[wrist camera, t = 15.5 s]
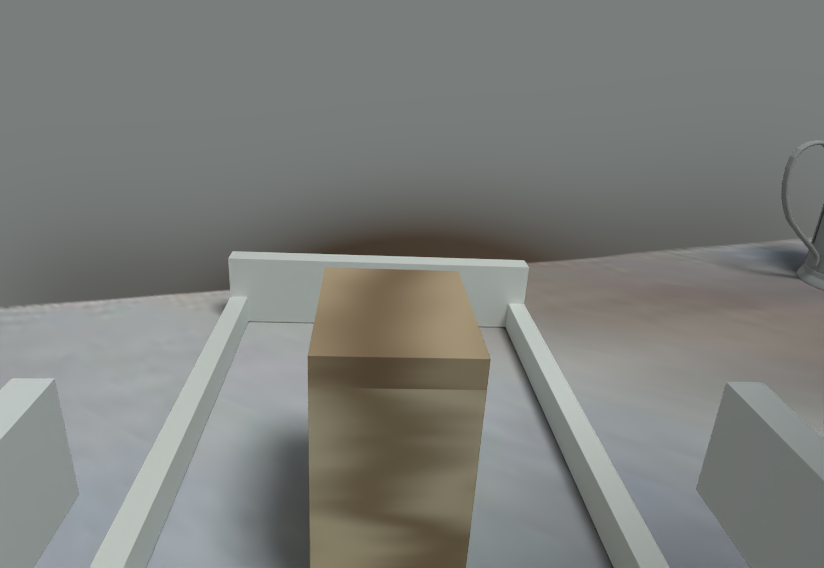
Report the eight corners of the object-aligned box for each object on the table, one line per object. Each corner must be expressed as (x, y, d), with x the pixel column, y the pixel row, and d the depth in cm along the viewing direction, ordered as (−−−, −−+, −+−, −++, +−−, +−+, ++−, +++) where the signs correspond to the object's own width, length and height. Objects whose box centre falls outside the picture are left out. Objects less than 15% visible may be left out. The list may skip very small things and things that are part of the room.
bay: (516, 318, 49) (524, 260, 47) (690, 666, 22) (724, 564, 20) (236, 312, 47) (232, 251, 45) (62, 680, 21) (36, 569, 19)
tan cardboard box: (440, 468, 32) (458, 271, 28) (462, 600, 25) (490, 359, 20) (324, 467, 31) (324, 267, 27) (310, 602, 24) (307, 355, 20)
